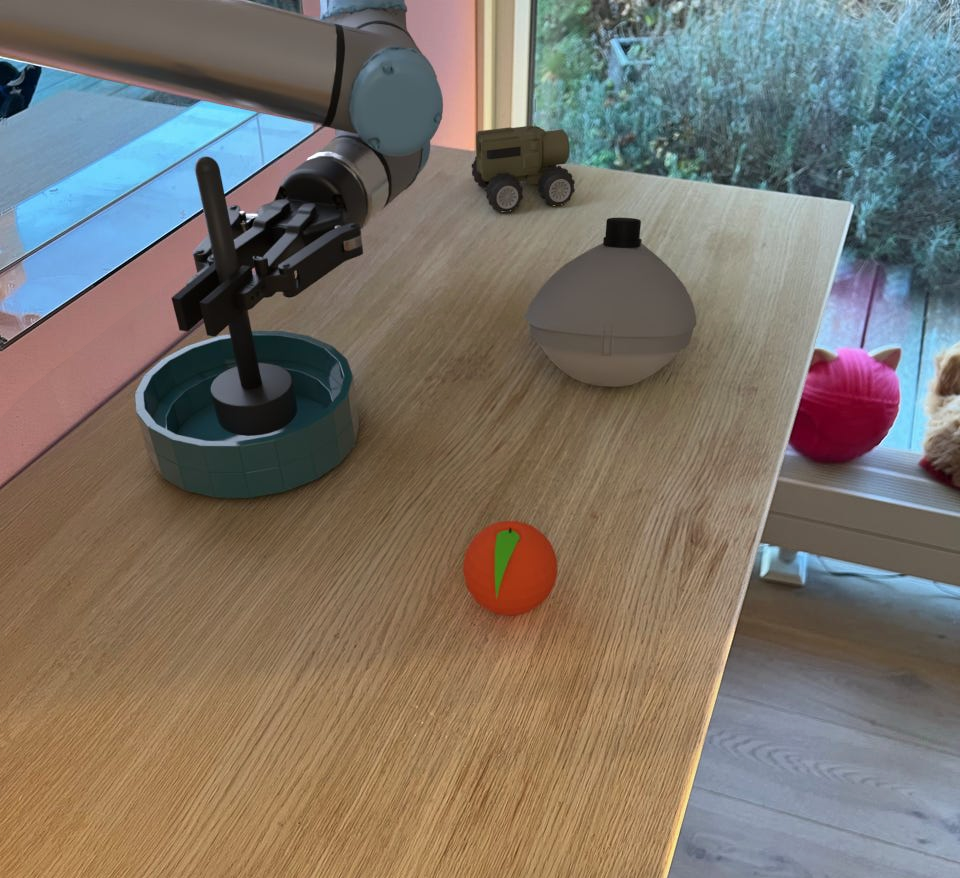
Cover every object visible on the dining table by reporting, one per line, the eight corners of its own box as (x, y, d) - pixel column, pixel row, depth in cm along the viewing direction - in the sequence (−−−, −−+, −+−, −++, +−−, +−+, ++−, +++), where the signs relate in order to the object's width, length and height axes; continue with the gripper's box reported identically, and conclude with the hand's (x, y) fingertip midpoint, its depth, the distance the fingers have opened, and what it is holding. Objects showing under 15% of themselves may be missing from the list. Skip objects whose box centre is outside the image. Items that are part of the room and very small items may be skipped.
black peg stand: (202, 427, 90) (137, 169, 75) (243, 386, 95) (189, 135, 79) (273, 442, 88) (221, 180, 73) (311, 400, 93) (269, 145, 77)
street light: (689, 415, 90) (709, 244, 83) (511, 403, 92) (517, 236, 85) (686, 342, 116) (701, 208, 109) (547, 334, 118) (554, 202, 111)
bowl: (110, 480, 91) (90, 422, 86) (221, 374, 103) (208, 318, 98) (299, 524, 86) (288, 464, 81) (392, 406, 98) (386, 349, 93)
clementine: (545, 651, 74) (546, 577, 69) (451, 638, 76) (446, 564, 71) (563, 578, 80) (566, 505, 75) (475, 567, 81) (473, 494, 76)
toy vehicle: (470, 185, 134) (466, 84, 125) (552, 175, 136) (554, 75, 127) (490, 218, 127) (488, 113, 118) (577, 206, 128) (581, 103, 120)
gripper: (409, 248, 95) (286, 377, 80) (267, 227, 99) (125, 346, 84) (402, 164, 90) (270, 285, 75) (253, 146, 94) (98, 256, 79)
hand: (193, 317), depth 79 cm, fingers closed on black peg stand, 2 cm apart
